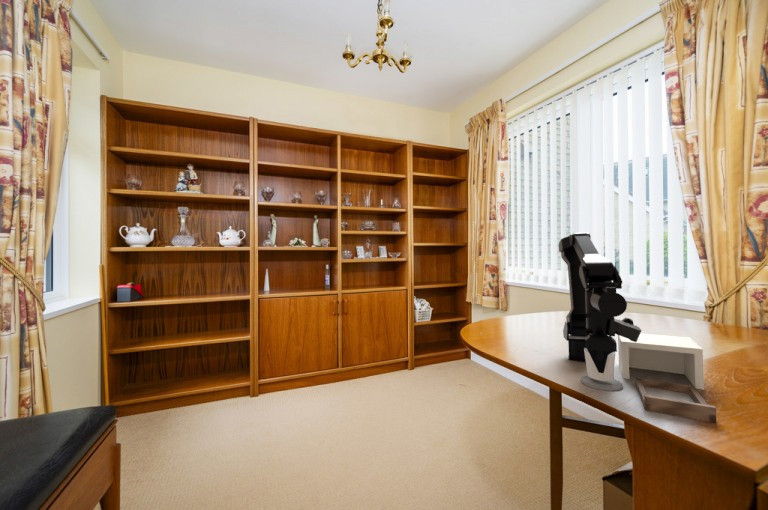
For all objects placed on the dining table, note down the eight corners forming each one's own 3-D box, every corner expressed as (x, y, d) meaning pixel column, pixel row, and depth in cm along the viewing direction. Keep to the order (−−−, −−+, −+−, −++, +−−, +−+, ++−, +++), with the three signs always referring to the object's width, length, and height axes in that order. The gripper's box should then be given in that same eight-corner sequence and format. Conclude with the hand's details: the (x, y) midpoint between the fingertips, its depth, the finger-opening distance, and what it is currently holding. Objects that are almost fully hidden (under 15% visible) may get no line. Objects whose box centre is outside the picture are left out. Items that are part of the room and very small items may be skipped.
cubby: (622, 378, 86) (621, 341, 86) (618, 364, 97) (617, 331, 97) (704, 389, 78) (702, 349, 78) (690, 373, 88) (689, 337, 88)
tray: (645, 410, 69) (644, 396, 69) (635, 383, 82) (635, 372, 82) (716, 423, 63) (715, 408, 63) (693, 392, 77) (693, 379, 77)
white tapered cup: (605, 384, 79) (604, 357, 79) (578, 374, 86) (577, 349, 85) (622, 378, 82) (621, 351, 82) (595, 368, 88) (594, 344, 88)
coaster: (580, 387, 82) (580, 384, 82) (581, 375, 89) (581, 373, 89) (624, 394, 77) (624, 391, 77) (621, 381, 85) (621, 378, 85)
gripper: (643, 318, 71) (645, 388, 71) (633, 305, 87) (635, 362, 87) (584, 314, 77) (586, 379, 77) (584, 303, 93) (586, 356, 93)
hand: (600, 368), depth 83 cm, fingers closed on white tapered cup, 6 cm apart
